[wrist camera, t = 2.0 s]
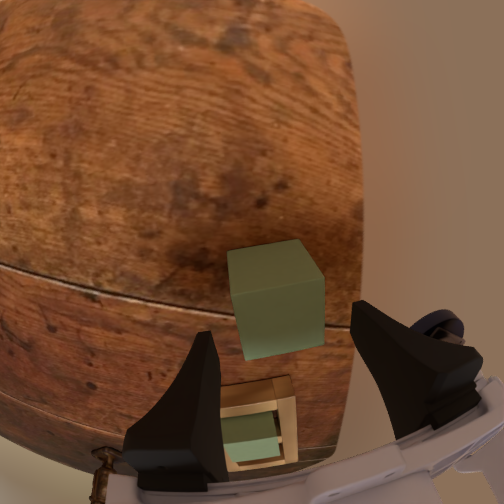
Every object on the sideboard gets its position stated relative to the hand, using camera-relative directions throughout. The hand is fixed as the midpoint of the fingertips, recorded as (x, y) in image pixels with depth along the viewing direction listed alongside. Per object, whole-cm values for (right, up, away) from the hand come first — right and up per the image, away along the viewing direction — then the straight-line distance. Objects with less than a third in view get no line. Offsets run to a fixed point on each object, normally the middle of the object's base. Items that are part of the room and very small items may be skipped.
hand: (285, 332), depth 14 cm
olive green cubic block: (-1, +2, +5) cm, 6 cm away
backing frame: (-2, -15, +13) cm, 20 cm away
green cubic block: (-2, -11, +11) cm, 16 cm away
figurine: (-21, -24, +15) cm, 36 cm away
